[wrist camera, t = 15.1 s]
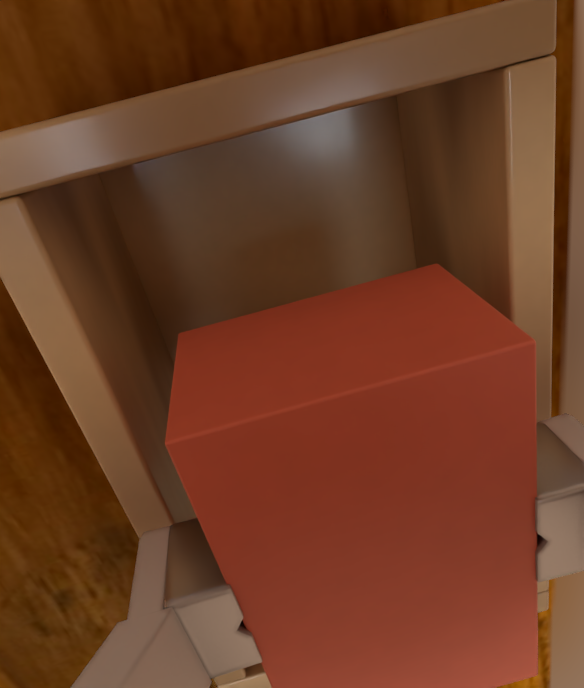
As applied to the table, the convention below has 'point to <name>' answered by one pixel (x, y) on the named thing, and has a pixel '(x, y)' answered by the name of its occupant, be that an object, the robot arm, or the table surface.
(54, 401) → the table surface
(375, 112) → the holder
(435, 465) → the red rectangular block
